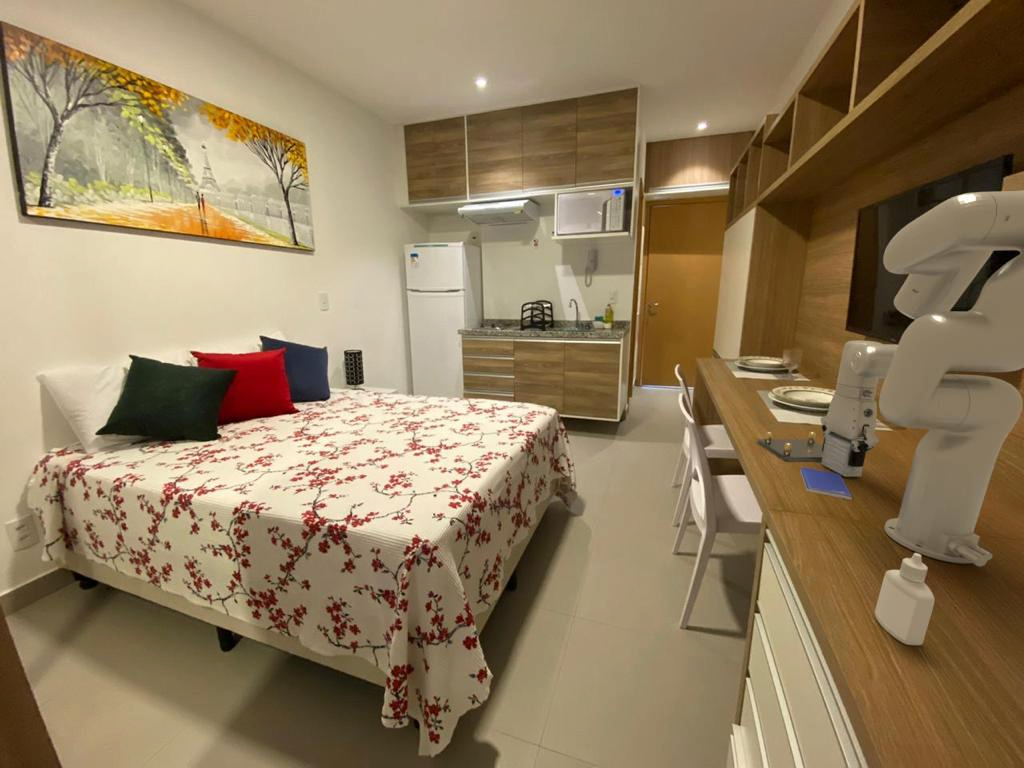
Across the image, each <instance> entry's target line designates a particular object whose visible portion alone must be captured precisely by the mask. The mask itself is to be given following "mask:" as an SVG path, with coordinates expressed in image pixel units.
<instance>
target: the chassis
mask: <svg viewBox="0 0 1024 768" xmlns="http://www.w3.org/2000/svg"><path fill="white" fill-rule="evenodd" d="M816 436H817V433H816V432H815V431H809V433H808V438H807V439H806V438H805V439H802V438H799V439H795V438H794V439H792V438H791V439H789V438H786V439H785V438H783V439H781V438H780V439H779V438H777V439H776V438H773V431H769V430H768V431H766V433H765V437H764V438H758V439H757V441H756V442H757V444H758V445H760V446H761V447H763V448H764V449H765V450H766V451H767V450H768V451H769V452H770V453H772V454H773V455H775V456H776V457H778V458H779V459H780V460H782V461H784V462H822V456H823V452H822V447H823V444H821V443H819V442H817V441H816Z"/></svg>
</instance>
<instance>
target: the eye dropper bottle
mask: <svg viewBox="0 0 1024 768" xmlns="http://www.w3.org/2000/svg"><path fill="white" fill-rule="evenodd" d="M928 569H929V568H928V566H927V565H926V564H925V563H923V561H922V554H920V553H918V552H914V553H913V554H912V556H911V557H905V558H903V559H902V562H901V565H900V569H889V570H886V571H885V573H884V575H883V580H882V584H881V588H880V591H879V595H878V597H877V602H876V607H875V610H874V616H875V619H876V621H878V623H879V625H880V626H881V627H882V628H883V629H884V630H885V631H886V632H887V633H888V634H889V635H890V636H892V637H894V639H896V640H898V641H899V642H900V643H903V644H904V645H907V646H922V645H923V643H924V640H925V637H926V633H927V629H928V626H929V623H930V619H931V616H932V613H933V609H934V606H935V602H936V601H935V596H934V594H933V592H932V590H931V588H930V587H929V586H928V585H927V584H926V583H925V580H926V576H927V573H928Z"/></svg>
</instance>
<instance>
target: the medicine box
mask: <svg viewBox="0 0 1024 768" xmlns="http://www.w3.org/2000/svg"><path fill="white" fill-rule="evenodd" d="M858 444H859V446H860V445H861V442H858ZM851 450H854V449H853V445H852V442H851V440H849V439H847V438H845V437H842V436H840V435H838V434H826V438H825V444H824V450H823V456H822V461H820V462H821V463H820V464H821V465H822V466H824V467H826V468H827V469H829V470H831V471H834V473H837V474H840V476H843V477H846V478H847V477H848V478H849V477H854V478H855V477H856V478H858V477H862V475H863V469H864V465H863V466H862V467H851V466H849V465H848V463H849V458H850V453H851Z"/></svg>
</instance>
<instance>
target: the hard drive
mask: <svg viewBox="0 0 1024 768" xmlns="http://www.w3.org/2000/svg"><path fill="white" fill-rule="evenodd" d="M799 471H800V475H801V477H802V480H803V483H804V486H805V489H806V491H807V492H809V493H813V494H819V495H825V496H830V497H834V498H840V499H844V498H845V499H844V500H849V499H850V501H852V500H853V499H852V498H853V496H852V493H850V491H849V488H848V487H847V485H846V483H845V482H844V479H843V478H842V475H841V474H839V473H837V472H832V471H825V470H820V469H814V468H808V467H800V470H799Z"/></svg>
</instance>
